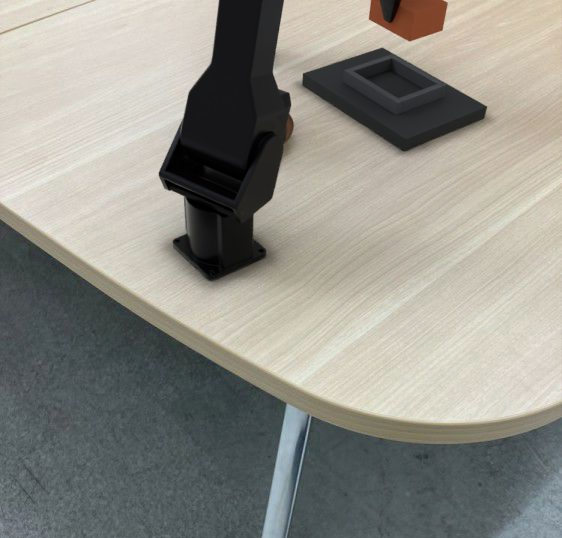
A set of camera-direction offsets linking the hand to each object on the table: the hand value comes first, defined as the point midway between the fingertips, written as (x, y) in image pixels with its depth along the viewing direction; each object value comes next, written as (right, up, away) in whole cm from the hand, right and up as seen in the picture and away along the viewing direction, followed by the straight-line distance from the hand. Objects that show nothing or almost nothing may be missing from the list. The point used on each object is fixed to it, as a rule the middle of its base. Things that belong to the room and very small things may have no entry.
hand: (406, 15), depth 85 cm
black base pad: (0, -6, +9) cm, 11 cm away
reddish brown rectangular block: (0, -1, +1) cm, 1 cm away
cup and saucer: (-18, -13, +2) cm, 22 cm away
